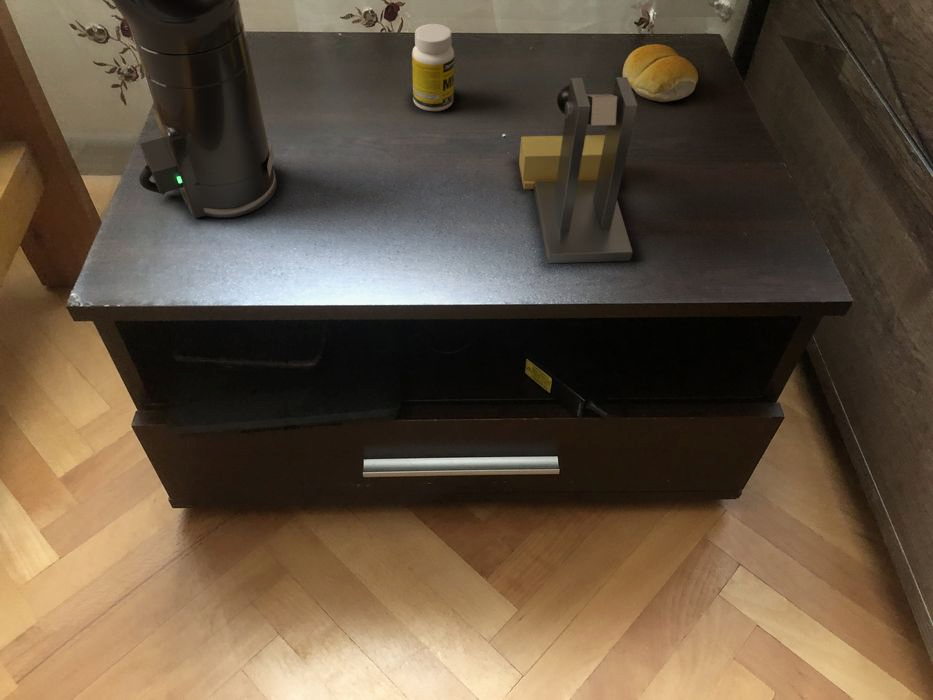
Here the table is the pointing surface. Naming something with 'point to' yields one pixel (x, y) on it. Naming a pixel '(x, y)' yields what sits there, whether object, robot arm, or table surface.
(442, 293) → the table surface
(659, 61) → the bread roll
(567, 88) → the knife lever
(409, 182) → the table surface
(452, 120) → the table surface
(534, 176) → the butter
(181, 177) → the robot arm
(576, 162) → the stand
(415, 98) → the supplement bottle
